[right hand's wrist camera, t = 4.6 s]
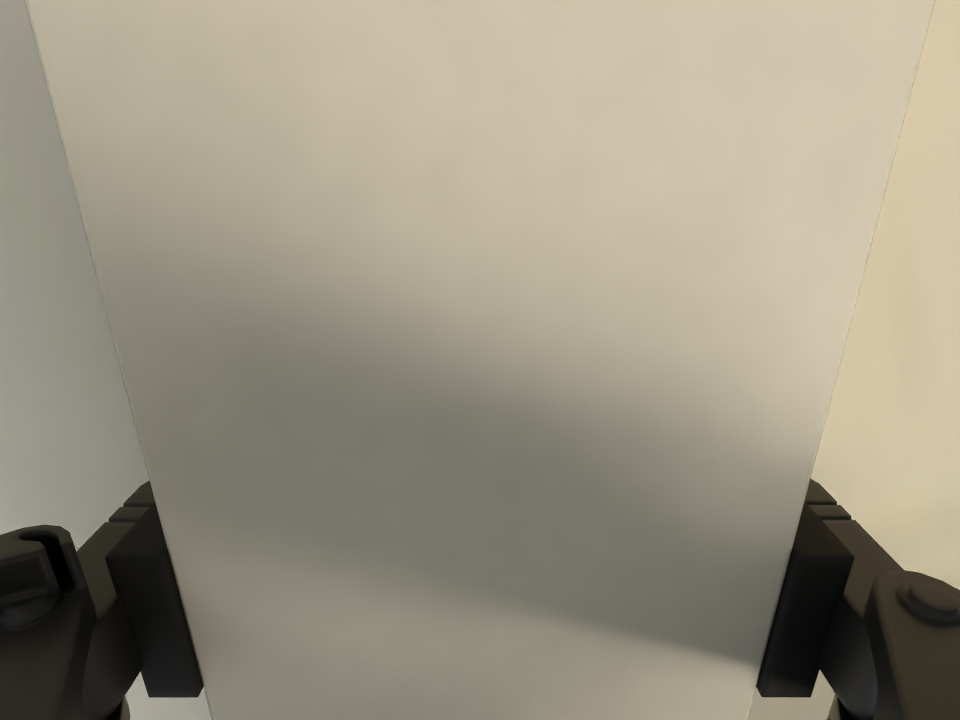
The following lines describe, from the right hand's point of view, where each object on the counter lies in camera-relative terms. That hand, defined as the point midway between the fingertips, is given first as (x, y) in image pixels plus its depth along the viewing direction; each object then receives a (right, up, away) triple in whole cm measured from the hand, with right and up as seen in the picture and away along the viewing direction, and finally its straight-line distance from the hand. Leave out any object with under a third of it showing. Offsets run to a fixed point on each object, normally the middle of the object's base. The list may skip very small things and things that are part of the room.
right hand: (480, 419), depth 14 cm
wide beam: (0, +23, -9) cm, 25 cm away
